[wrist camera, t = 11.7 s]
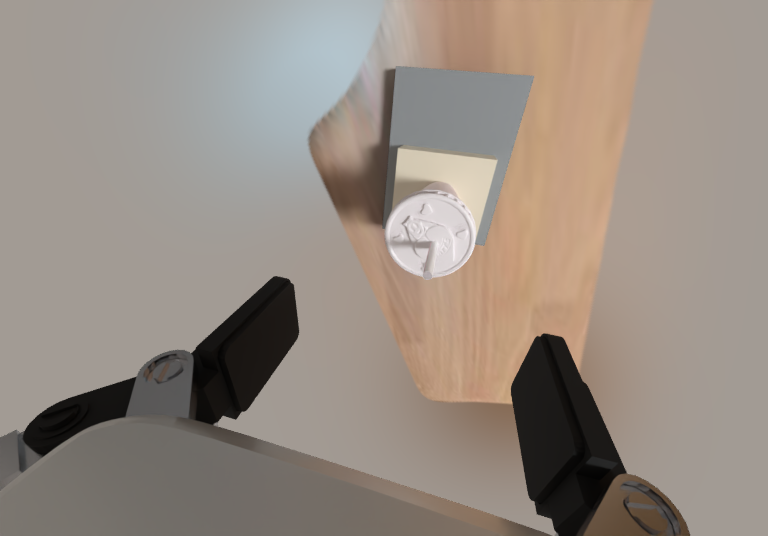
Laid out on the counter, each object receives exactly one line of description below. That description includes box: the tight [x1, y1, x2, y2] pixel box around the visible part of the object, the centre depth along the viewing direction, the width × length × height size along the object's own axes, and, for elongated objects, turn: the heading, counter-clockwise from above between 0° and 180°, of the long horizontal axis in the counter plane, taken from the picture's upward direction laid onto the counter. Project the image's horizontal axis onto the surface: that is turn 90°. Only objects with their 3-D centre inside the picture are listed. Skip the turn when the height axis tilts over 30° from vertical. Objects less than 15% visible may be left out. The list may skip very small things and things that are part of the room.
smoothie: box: [385, 182, 476, 280], centre depth 21 cm, size 6×6×14 cm
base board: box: [382, 66, 534, 246], centre depth 28 cm, size 16×12×4 cm
